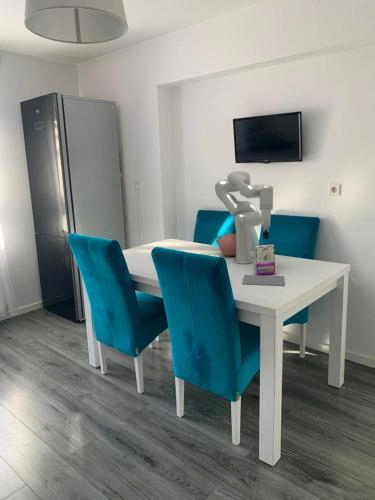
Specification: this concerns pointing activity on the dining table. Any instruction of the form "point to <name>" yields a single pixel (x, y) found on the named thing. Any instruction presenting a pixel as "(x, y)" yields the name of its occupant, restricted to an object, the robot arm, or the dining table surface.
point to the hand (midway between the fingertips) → (265, 238)
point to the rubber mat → (263, 280)
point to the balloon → (227, 244)
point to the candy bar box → (264, 259)
